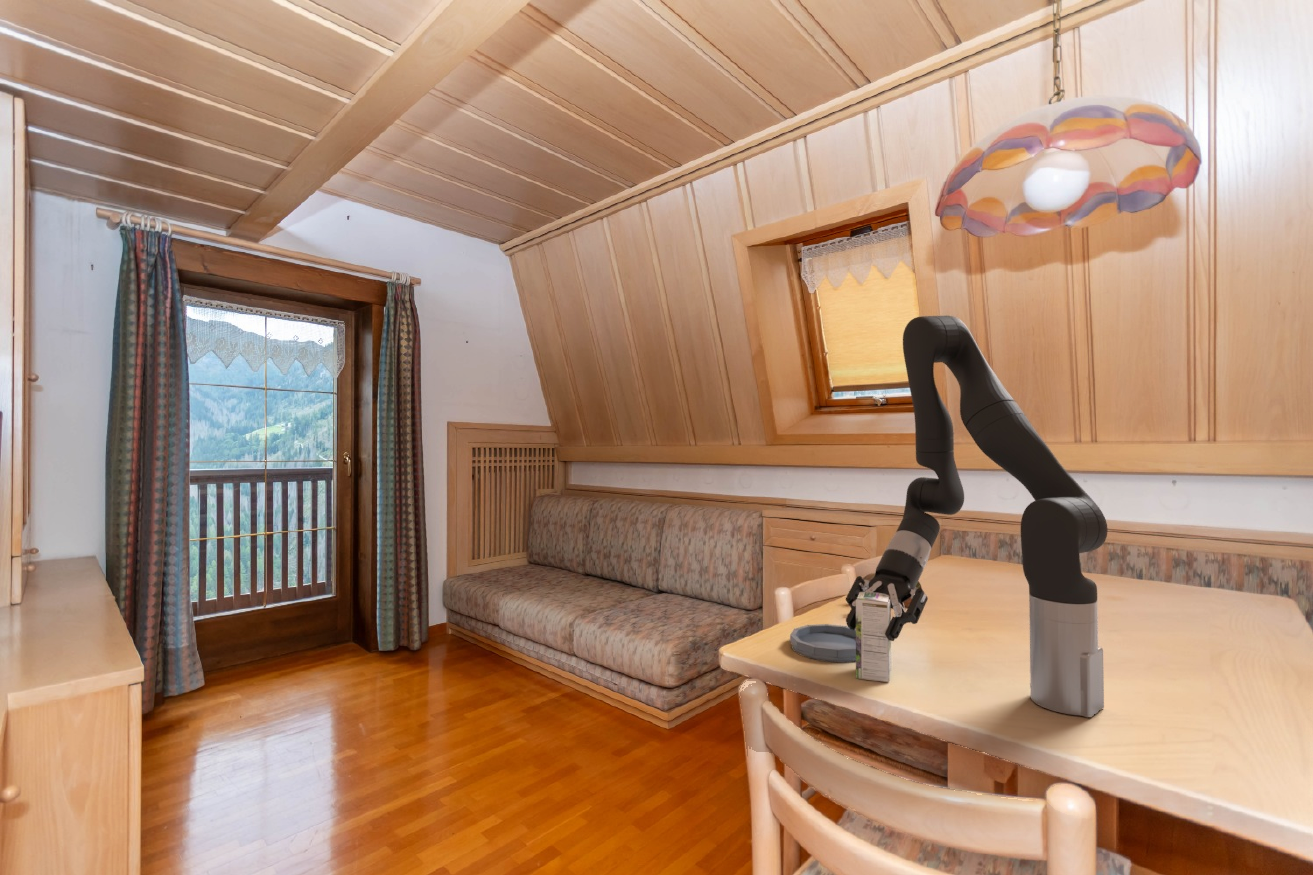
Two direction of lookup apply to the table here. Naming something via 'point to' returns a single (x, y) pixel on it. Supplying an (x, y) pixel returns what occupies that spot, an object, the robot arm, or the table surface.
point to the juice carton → (873, 636)
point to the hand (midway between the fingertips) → (869, 632)
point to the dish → (825, 642)
